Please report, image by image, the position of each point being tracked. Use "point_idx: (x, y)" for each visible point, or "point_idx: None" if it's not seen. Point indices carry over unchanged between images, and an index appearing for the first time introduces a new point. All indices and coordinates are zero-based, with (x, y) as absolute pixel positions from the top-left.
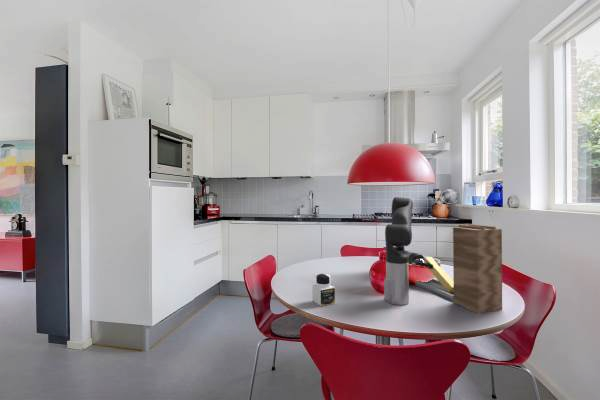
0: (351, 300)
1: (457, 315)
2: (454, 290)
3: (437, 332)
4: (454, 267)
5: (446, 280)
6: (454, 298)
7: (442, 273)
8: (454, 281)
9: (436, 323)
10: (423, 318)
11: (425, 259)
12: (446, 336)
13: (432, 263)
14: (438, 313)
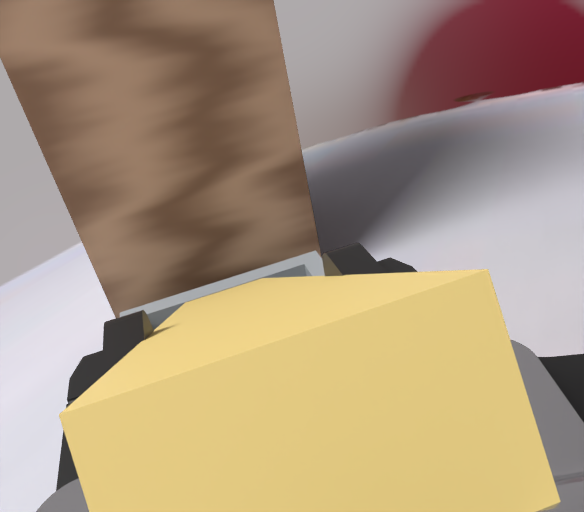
0: None
1: (383, 174)
2: (307, 193)
3: (499, 99)
4: (270, 1)
5: (265, 280)
6: (317, 246)
7: (243, 291)
8: (294, 126)
9: (493, 124)
10: (545, 133)
11: (484, 348)
12: (474, 96)
13: (296, 291)
14: (468, 169)
